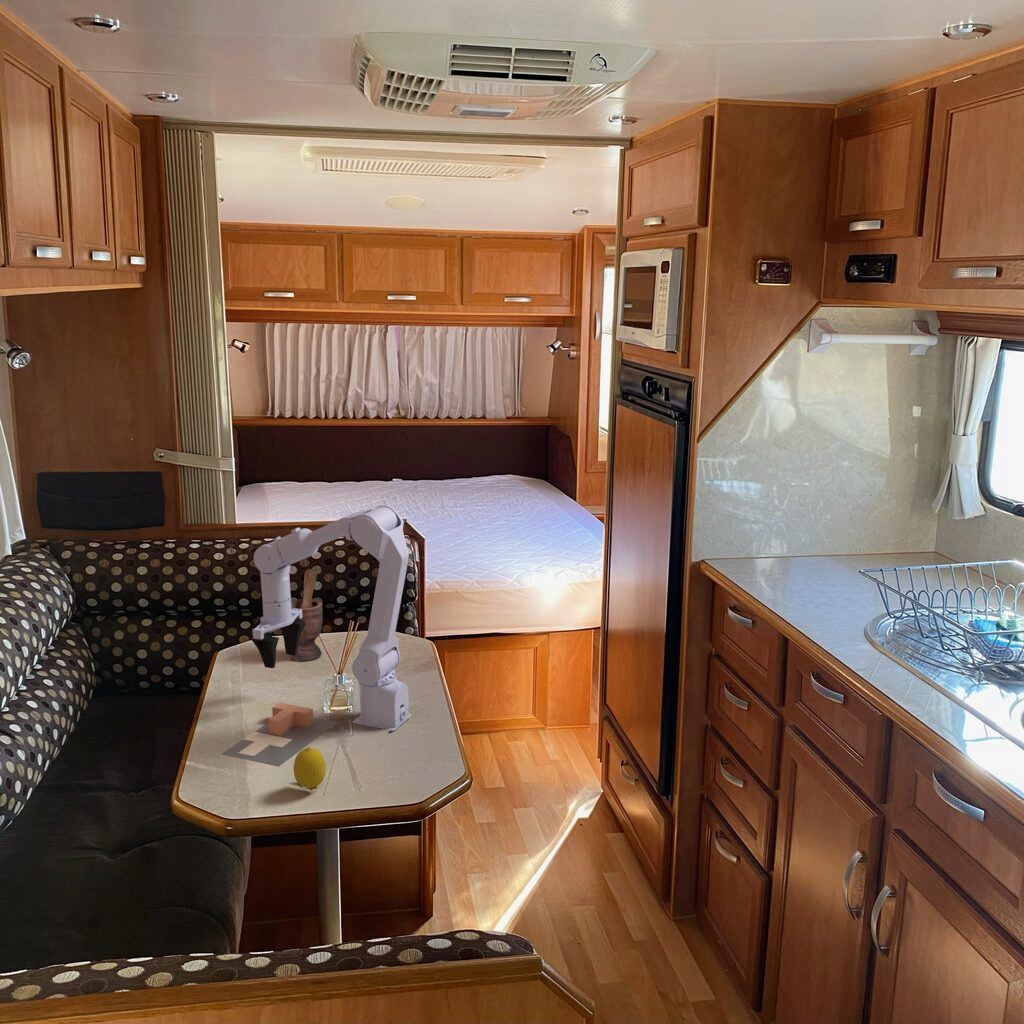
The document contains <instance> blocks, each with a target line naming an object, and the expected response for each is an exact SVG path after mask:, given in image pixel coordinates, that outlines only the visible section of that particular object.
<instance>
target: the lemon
mask: <svg viewBox="0 0 1024 1024" xmlns="http://www.w3.org/2000/svg"><path fill="white" fill-rule="evenodd" d="M293 763H294V764H293V775H294V778H295V781H296V782H297V784H298V785H300V786H301V787H303V788H306V789H308V790H311V791H312V790H313V789H314V788H316V787H317V786H319V785H320V784H321V783H322V782H323V781H324V779H325V777H326V772H327V765H326V764H327V763H326V760H325V758H324V755H323V753H322V752H321V751H320V750H318V749H316V748H314V747H310V746H306V747H305V748H303V749H302V750H300V751H299V752H298V753H297V754H296V756H295V759H294V762H293Z"/></svg>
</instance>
